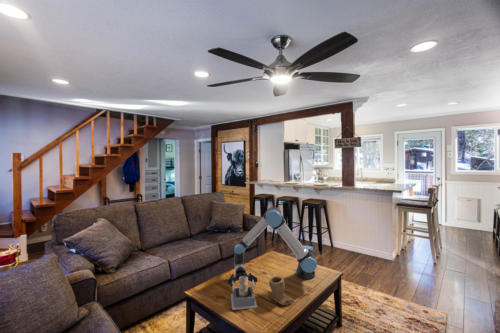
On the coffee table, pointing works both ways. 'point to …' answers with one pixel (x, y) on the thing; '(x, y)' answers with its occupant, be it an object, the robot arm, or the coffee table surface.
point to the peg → (243, 286)
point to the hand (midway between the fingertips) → (244, 287)
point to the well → (243, 300)
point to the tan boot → (279, 291)
